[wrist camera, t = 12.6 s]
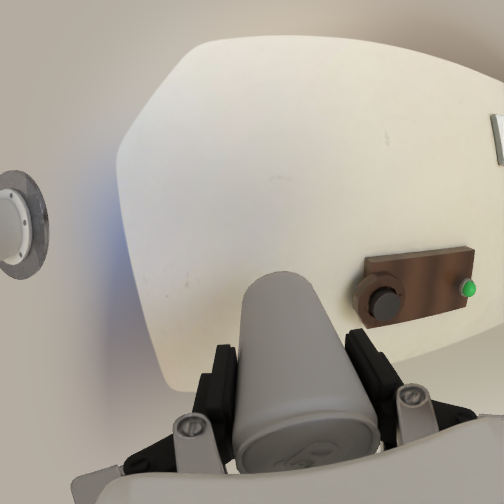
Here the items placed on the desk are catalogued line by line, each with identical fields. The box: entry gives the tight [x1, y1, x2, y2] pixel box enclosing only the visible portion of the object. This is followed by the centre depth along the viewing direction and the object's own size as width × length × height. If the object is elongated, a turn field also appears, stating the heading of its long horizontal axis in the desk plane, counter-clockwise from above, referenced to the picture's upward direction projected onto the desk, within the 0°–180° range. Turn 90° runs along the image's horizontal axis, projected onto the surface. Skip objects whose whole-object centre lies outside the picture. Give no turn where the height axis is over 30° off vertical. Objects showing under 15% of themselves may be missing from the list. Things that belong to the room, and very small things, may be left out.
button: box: [368, 288, 400, 321], centre depth 30 cm, size 4×4×2 cm
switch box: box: [353, 246, 475, 329], centre depth 32 cm, size 20×9×4 cm, turn 95°
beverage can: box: [232, 271, 380, 474], centre depth 12 cm, size 5×5×12 cm
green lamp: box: [459, 278, 476, 297], centre depth 29 cm, size 3×3×2 cm
